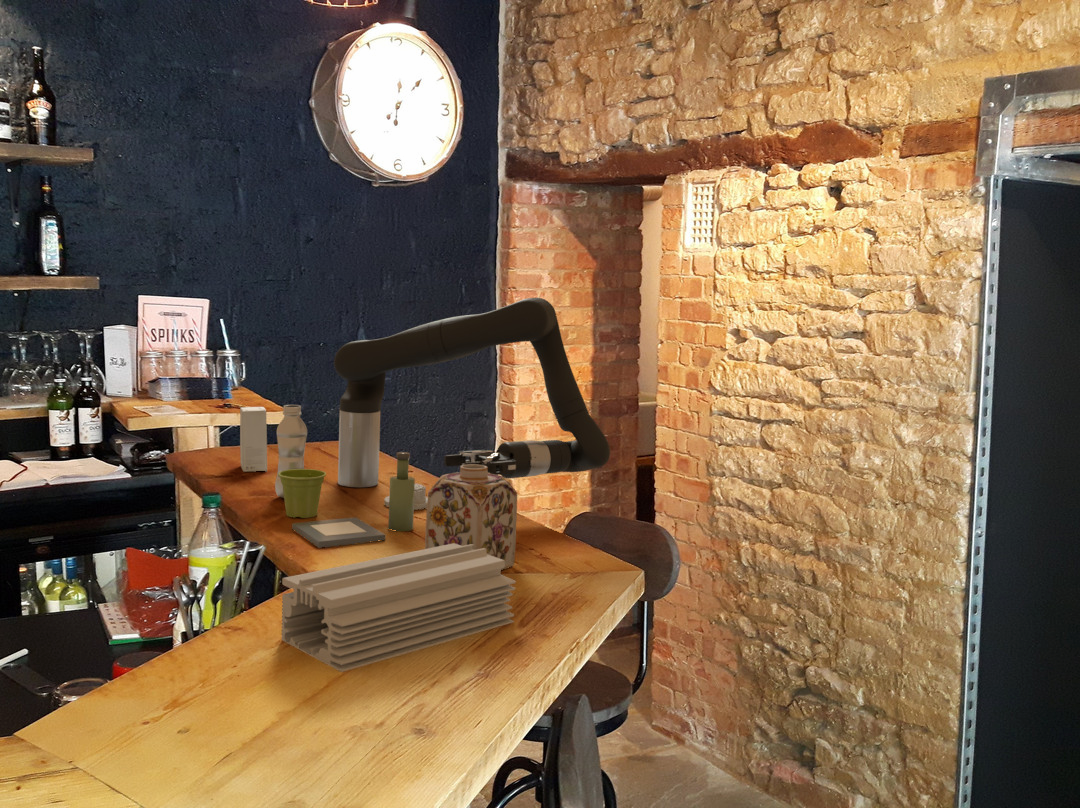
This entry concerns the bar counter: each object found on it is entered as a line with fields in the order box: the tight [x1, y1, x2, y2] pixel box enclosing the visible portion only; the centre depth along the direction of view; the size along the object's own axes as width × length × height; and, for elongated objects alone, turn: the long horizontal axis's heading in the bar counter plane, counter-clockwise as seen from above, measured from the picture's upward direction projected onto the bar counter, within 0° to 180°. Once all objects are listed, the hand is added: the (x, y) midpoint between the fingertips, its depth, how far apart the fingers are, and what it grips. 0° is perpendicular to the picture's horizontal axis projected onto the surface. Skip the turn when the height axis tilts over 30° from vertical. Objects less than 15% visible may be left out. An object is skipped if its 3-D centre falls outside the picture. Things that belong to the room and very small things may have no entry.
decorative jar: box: [424, 464, 518, 571], centre depth 180 cm, size 12×12×18 cm
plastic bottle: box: [274, 404, 308, 499], centre depth 224 cm, size 6×7×20 cm
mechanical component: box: [384, 482, 428, 511], centre depth 224 cm, size 10×4×10 cm
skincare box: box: [239, 406, 268, 473], centre depth 252 cm, size 8×6×15 cm
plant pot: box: [278, 468, 327, 519], centre depth 211 cm, size 9×9×9 cm
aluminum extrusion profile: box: [281, 543, 517, 673], centre depth 149 cm, size 14×31×10 cm, turn 135°
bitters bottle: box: [388, 451, 416, 532], centre depth 204 cm, size 5×5×15 cm
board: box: [291, 516, 386, 549], centre depth 198 cm, size 14×13×1 cm
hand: (454, 464), depth 209 cm, fingers open, 8 cm apart
